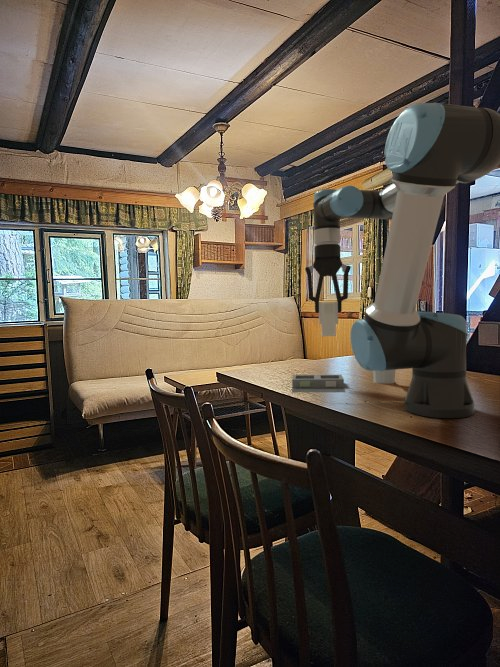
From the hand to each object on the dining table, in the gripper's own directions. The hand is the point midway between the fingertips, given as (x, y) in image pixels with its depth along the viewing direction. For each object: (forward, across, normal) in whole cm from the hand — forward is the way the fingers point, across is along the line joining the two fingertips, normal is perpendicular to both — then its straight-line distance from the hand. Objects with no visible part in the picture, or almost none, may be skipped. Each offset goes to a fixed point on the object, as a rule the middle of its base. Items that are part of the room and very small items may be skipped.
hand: (328, 323), depth 130 cm
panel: (+20, +4, 0) cm, 20 cm away
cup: (+20, -17, -5) cm, 27 cm away
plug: (+4, 0, 0) cm, 4 cm away
